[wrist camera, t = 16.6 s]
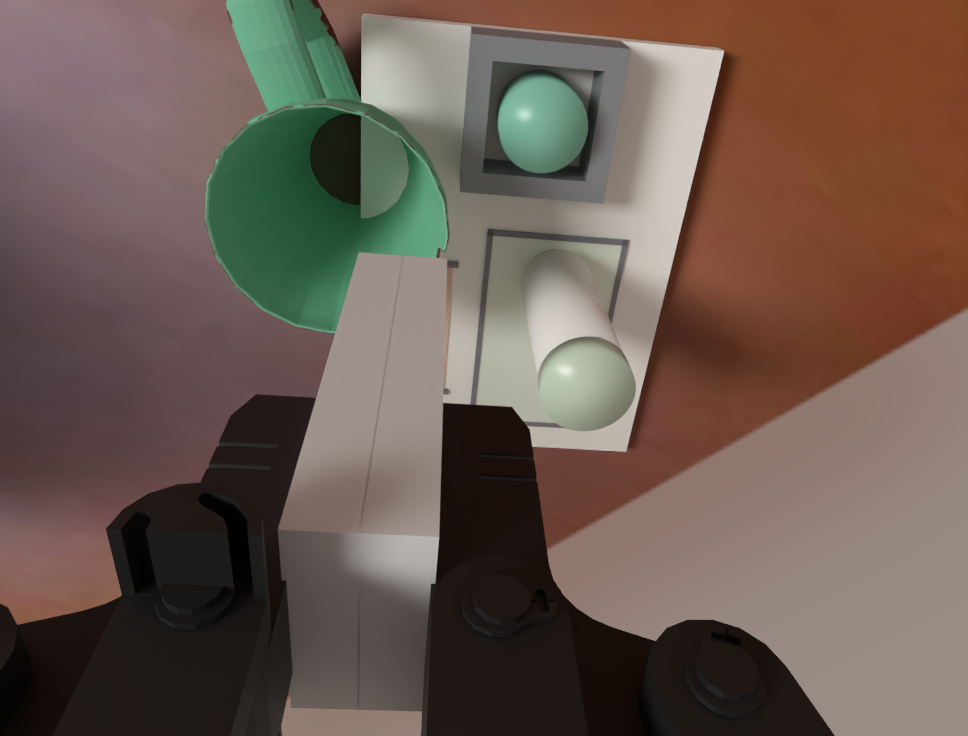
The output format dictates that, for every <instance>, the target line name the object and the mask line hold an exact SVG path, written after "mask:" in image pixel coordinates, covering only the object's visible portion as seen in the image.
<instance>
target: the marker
mask: <svg viewBox="0 0 968 736" xmlns="http://www.w3.org/2000/svg"><path fill="white" fill-rule="evenodd" d="M521 293H522V298H523V303H524V308H525V313H526V318H527V324H528V329H529V334H530V339H531V344H532V349H533V355H534V360H535V365H536V370H537V375H538V387H539V392H540V397H541V402H542V406H543V408H544V410H545V412H546V414H547V415H548V416H549V417H550V419H552V420H553V421H554V422H555V423H557V424H558V425H560V426H562V427H564V428H567V429H570V430H574V431H594V430H598V429H601V428H604V427H607V426H609V425H611V424H613V423H614V422H616V421H617V420H619V419H620V418H621V417H622V416H623V415H624V414H625V413H626V412H627V411H628V409H629V408H630V406H631V404H632V402H633V400H634V397H635V392H636V382H635V378H634V375H633V372H632V370H631V367H630V365H629V363H628V360H627V358H626V356H625V354H624V353H623V351H622V349H621V346H620V344H619V341H618V339H617V336H616V334H615V332H614V329H613V327H612V324H611V322H610V319H609V317H608V314H607V312H606V310H605V307H604V305H603V302H602V300H601V297H600V295H599V292H598V290H597V288H596V285H595V283H594V280H593V278H592V275H591V273H590V270H589V268H588V266H587V265H586V263H585V262H584V261H583V260H582V259H581V258H580V257H579V256H577V255H575V254H573V253H571V252H568V251H564V250H560V249H550V250H546V251H543V252H541V253H539V254H538V255H536V256H535V257H534V258H533V259H532V260H531V262H530V263H529V264H528V265H527V267H526V268H525V270H524V272H523V275H522V278H521Z"/></svg>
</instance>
